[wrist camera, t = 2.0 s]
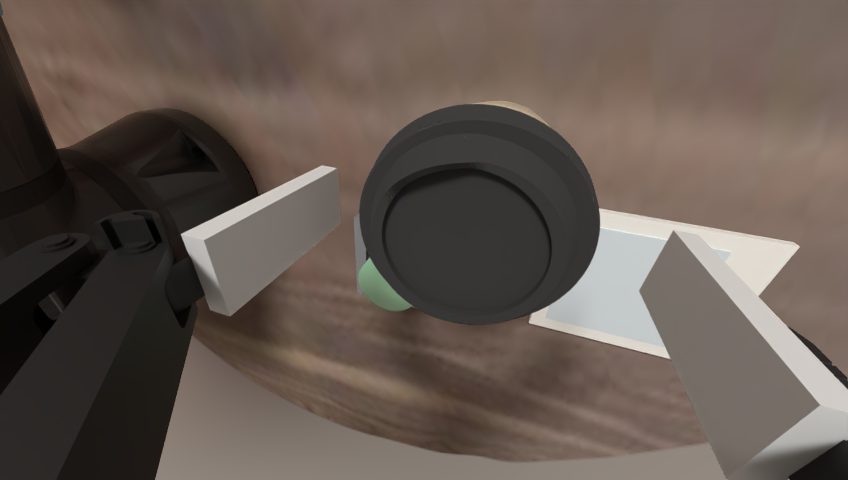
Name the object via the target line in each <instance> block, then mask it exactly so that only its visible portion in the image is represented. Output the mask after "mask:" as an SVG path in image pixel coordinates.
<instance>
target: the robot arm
mask: <svg viewBox="0 0 848 480" xmlns="http://www.w3.org/2000/svg"><path fill="white" fill-rule="evenodd" d="M1 15H3V10H2V7H1V3H0V480H155V477H156V473H157V469H158V466H159V462H160V458H161V454H162V450H163V446H164V442H165V438H166V434H167V430H168V426H169V422H170V418H171V414H172V411H173V407H174V403H175V399H176V395H177V391H178V387H179V383H180V379H181V375H182V371H183V368H184V364H185V360H186V356H187V351H188V348H189V344H190V340H191V336H192V332H193V328H194V324H195V320H196V317H197V313H198V311H197V306H196V303H195V302H196V301H197V300H199V299H200V298H201V297H203V296H205V298H206V301H207V304H208V306H209V309H210V310H211V311H214V312H217V313H220V314H223V315H226V316H231V315H233V314H234V313H235V312H236V311H237V310H239V309H240V308H241V307H242V306H243V305H245V304H246V303H247V302H248V301H249V300H251V299H252V298H253V297H254V296H255V295H257V294H258V293H259V292H260V291H261V290H263V289H264V288H265V287H266V286H267V285H268V284H270V283H271V282H272V281H273V280H274V279H276V278H277V277H278V276H279V275H280V274H282V273H283V272H284V271H285V270H286V269H288V268H289V267H290V266H291V265H292V264H294V263H295V262H296V261H297V260H298V259H300V258H301V257H302V256H303V255H304V254H305V253H307V252H308V251H309V250H310V249H311V248H313V247H314V246H315V245H316V244H317V243H319V242H320V241H321V240H322V239H323V238H325V237H326V236H327V235H328V234H329V233H331V232H332V231H333V230H334V229H335V228H337V227H338V226H339V225H340V224H341V213H340V199H339V185H338V171H337V168H333V167H327V166H320V167H318V168H316V169H314V170H312V171H310V172H308V173H305V174H303V175H301V176H299V177H297V178H295V179H293V180H291V181H289V182H287V183H285V184H283V185H281V186H279V187H277V188H275V189H273V190H271V191H268V192H266V193H264V194H262V195H260V196H258V197H257V193H256V190H255V187H254V184H253V182H252V179H251V177H250V175H249V173H248V171H247V169H246V168H245V166H244V164H243V163H242V161H241V159H240V158H239V157H238V155H237V154H236V153H235V151H234V150H233V149H232V147H231V146H230V145H229V144H228V143H227V142H226V141H225V140H224V139H223V138H222V137H221V136H220V135H219V134H218V133H217V132H216V131H215V130H214V129H212V128H211V127H210V126H209V125H207V124H206V123H204V122H203V121H201V120H200V119H198V118H196V117H194V116H192V115H190V114H188V113H185V112H183V111H179V110H175V109H168V108H163V109H155V110H147V111H140V112H136V113H132V114H130V115H127V116H125V117H123V118H122V119H120V120H118V121H116V122H114V123H113V124H111V125H109V126H107V127H105V128H104V129H102V130H100V131H98V132H96V133H94V134H93V135H91V136H89V137H87V138H85V139H84V140H82V141H80V142H78V143H76V144H74V145H72V146H70V147H66V148H61V149H56V147H55V144H54V142H53V139H52V137H51V135H50V132H49V130H48V127H47V125H46V123H45V120H44V118H43V115H42V113H41V111H40V108H39V106H38V103H37V101H36V99H35V96H34V94H33V91H32V89H31V87H30V84H29V82H28V79H27V77H26V75H25V72H24V70H23V67H22V65H21V63H20V60H19V58H18V55H17V53H16V51H15V48H14V46H13V43H12V41H11V39H10V36H9V34H8V31H7V29H6V27H5V24H4V22H3V19H2V17H1ZM639 292H640V294H641V296H642V298H643V301H644V303H645V305H646V307H647V309H648V311H649V313H650V316H651V318H652V320H653V322H654V324H655V326H656V329H657V331H658V333H659V335H660V337H661V339H662V341H663V344H664V346H665V348H666V350H667V352H668V354H669V357H670V359H671V361H672V363H673V365H674V367H675V369H676V372H677V374H678V376H679V378H680V380H681V382H682V385H683V387H684V389H685V391H686V393H687V395H688V397H689V400H690V402H691V404H692V406H693V408H694V410H695V413H696V415H697V417H698V419H699V421H700V423H701V425H702V428H703V430H704V432H705V434H706V436H707V438H708V440H709V443H710V445H711V447H712V449H713V451H714V453H715V456H716V458H717V460H718V462H719V464H720V466H721V468H722V470H723V473H724V475H725V477H726V479H729V480H788V479H790V480H848V381H847V379H848V378H847V377H846V376H845V375H844V374H843V373H842V372H841V371H840V370H839V369H838V368H837V367H836V366H832V362H831V361H830V360H829V359H828V358H827V357H826V356H825V355H824V354H823V353H822V352H821V351H820V350H819V349H818V348H817V347H816V346H815V345H814V344H813V343H811V342H810V341H808V340H807V339H806V338H804V337H803V336H801V335H800V334H798V333H797V332H796V331H794V330H793V329H791V328H790V327H787V326H786V325H785V324H784V323H783V322H782V321H781V320H780V319H779V318H778V317H777V316H776V315H775V314H774V313H773V312H772V310H771V309H770V308H769V307H768V306H767V305H766V304H765V303H764V302H763V301H762V300H761V299H760V298H759V297H758V296H757V295H756V294H755V293H754V292H753V291H752V290H751V289H750V288H749V287H748V286H747V285H746V283H745V282H744V281H743V280H742V279H741V278H740V277H739V276H738V275H737V274H736V273H735V272H734V271H733V270H732V269H731V268H730V267H729V266H728V265H727V264H726V263H725V262H724V261H723V260H722V259H721V258H720V256H719V255H718V254H717V253H716V252H715V251H714V250H713V249H712V248H711V247H710V246H709V245H708V244H707V243H706V242H705V241H704V240H703V239H702V238H701V237H700V236H699V235H698V234H692V233H687V232H682V231H676V230H673V231H672V233H671V235H670V237H669V239H668V240H667V242H666V244H665V246H664V247H663V249H662V251H661V253H660V254H659V256H658V258H657V260H656V261H655V263H654V265H653V267H652V268H651V270H650V272H649V274H648V276H647V277H646V279H645V281H644V283H643V284H642V286H641V288H640V290H639Z"/></svg>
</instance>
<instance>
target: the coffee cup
mask: <svg viewBox="0 0 848 480" xmlns="http://www.w3.org/2000/svg"><path fill="white" fill-rule="evenodd" d="M359 220H360V229H361V234H362V238H363V242H364V245H365V248H366V250H367V252H368V255H369V257H370V259H371V261H372V262H373V264H374V266H375V267H376V269H377V270H378V272H379V273H380V274H381V276H382V277H383V278H384V279H385V280H386V281H387V283H388V284H389V285H390V286H391V287H392V289H393V290H394V291H395V292H396V293H397V294H398V295H399V296H401V297H402V298H403V299H404V300H405V301H407V302H408V303H409V304H411V305H412V306H414V307H415V308H417V309H419V310H421V311H423V312H424V313H427V314H429V315H431V316H434V317H436V318H439V319H442V320H446V321H449V322H454V323H460V324H468V325H485V324H494V323H500V322H504V321H508V320H511V319H516V318H520V317H523V316H526V315H529V314H532V313H535V312H537V311H539V310H541V309H543V308H545V307H547V306H549V305H551V304H552V303H554V302H556V301H557V300H559V299H560V298H561V297H563V296H564V295H565V294H566V293H567V292H569V291H570V290H571V289H572V288H573V287H574V286H575V285H576V284H577V282H578V281H579V280H580V279H581V277H582V276H583V275H584V273H585V272H586V270H587V269H588V267H589V265H590V263H591V261H592V259H593V257H594V254H595V251H596V248H597V245H598V240H599V234H600V212H599V206H598V202H597V198H596V194H595V190H594V186H593V183H592V180H591V177H590V175H589V173H588V171H587V169H586V167H585V165H584V163H583V162H582V160H581V158H580V157H579V156H578V154H577V153H576V151H575V150H574V149H573V148H572V147H571V146H570V144H569V143H568V142H567V141H566V140H565V139H564V138H563V137H562V136H560V135H559V134H558V133H557V132H556V131H554V130H553V129H552V128H551V127H550V126H549V125H548V124H547V123H546V122H545V121H544V120H543V119H542V118H541V117H539V116H538V115H537V114H536V113H534V112H533V111H531V110H530V109H528V108H526V107H524V106H522V105H519V104H516V103H513V102H507V101H489V102H481V103H474V104H465V105H457V106H451V107H447V108H443V109H439V110H436V111H433V112H431V113H428V114H426V115H424V116H422V117H420V118H418V119H416V120H415V121H413V122H411V123H410V124H408V125H407V126H406V127H404V128H403V129H402V130H401V131H399V132H398V133H397V134H396V135H395V136H394V137H393V138H392V139H391V140H390V141H389V143H388V144H387V145H386V146H385V148H384V149H383V150H382V152H381V154H380V155H379V157H378V159H377V160H376V163H375V165H374V167H373V168H372V170H371V172H370V174H369V176H368V178H367V180H366V183H365V185H364V188H363V192H362V196H361V201H360V210H359Z"/></svg>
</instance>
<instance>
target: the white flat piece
mask: <svg viewBox="0 0 848 480" xmlns="http://www.w3.org/2000/svg"><path fill="white" fill-rule="evenodd" d="M599 212H600V234H599V240H598V245H597V248H596V251H595V254H594V257H593V259H592V261H591V263H590V265H589V267H588V269H587V270H586V272H585V273H584V275H583V276H582V277H581V279H580V280H579V281H578V282H577V284H576V285H575V286H574V287H573V288H572V289H571V290H570V291H569V292H567V293H566V294H565V295H564V296H563V297H561V298H560V299H559V300H557V301H556V302H554V303H552V304H551V305H549V306H547V307H545V308H543V309H541V310H539V311H537V312H535V313H532V314H530V316H529V323H530V324H534V325H538V326H542V327H546V328H550V329H554V330H558V331H562V332H566V333H570V334H574V335H578V336H582V337H586V338H589V339H593V340H597V341H601V342H605V343H609V344H613V345H617V346H621V347H625V348H629V349H633V350H637V351H641V352H645V353H649V354H652V355H656V356H660V357H664V358H668V359H670V357H669V354H668V352H667V350H666V348H665V346H664V344H663V341H662V339H661V337H660V335H659V333H658V331H657V329H656V326H655V324H654V322H653V320H652V318H651V316H650V313H649V311H648V309H647V307H646V305H645V303H644V301H643V298H642V296H641V294H640V292H639V290H640V288H641V286H642V284H643V283H644V281H645V279H646V277H647V276H648V274H649V272H650V270H651V268H652V267H653V265H654V263H655V261H656V260H657V258H658V256H659V254H660V253H661V251H662V249H663V247H664V246H665V244H666V242H667V240H668V239H669V237H670V235H671V233H672V231H673V230H676V231H682V232H687V233H692V234H698V235H699V236H700V237H701V238H702V239H703V240H704V241H705V242H706V243H707V244H708V245H709V246H710V247H711V248H712V249H713V250H714V251H715V252H716V253H717V254H718V255H719V256H720V258H721V259H722V260H723V261H724V262H725V263H726V264H727V265H728V266H729V267H730V268H731V269H732V270H733V271H734V272H735V273H736V274H737V275H738V276H739V277H740V278H741V279H742V280H743V281H744V282H745V283H746V285H747V286H748V287H749V288H750V289H751V290H752V291H753V292H754V293H755V294H756V295H757V296H759V295H760V293H761V292H762V291H763V290H764V289H765V287H766V286H767V285H768V284H769V283H770V282H771V280H772V279H773V278H774V277H775V276H776V274H777V273H778V272H779V271H780V270H781V268H782V267H783V266H784V265H785V264H786V263H787V261H788V260H789V259H790V258H791V257H792V255H793V254H794V253H795V252H796V251H797V249H798V248H799V247H800V246H798V245H797V244H795V243H794V242H790V241H784V240H778V239H772V238H767V237H761V236H755V235H749V234H744V233H738V232H732V231H726V230H721V229H715V228H709V227H703V226H697V225H692V224H686V223H680V222H674V221H669V220H663V219H657V218H651V217H645V216H640V215H634V214H628V213H622V212H617V211H611V210H605V209H599Z"/></svg>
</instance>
